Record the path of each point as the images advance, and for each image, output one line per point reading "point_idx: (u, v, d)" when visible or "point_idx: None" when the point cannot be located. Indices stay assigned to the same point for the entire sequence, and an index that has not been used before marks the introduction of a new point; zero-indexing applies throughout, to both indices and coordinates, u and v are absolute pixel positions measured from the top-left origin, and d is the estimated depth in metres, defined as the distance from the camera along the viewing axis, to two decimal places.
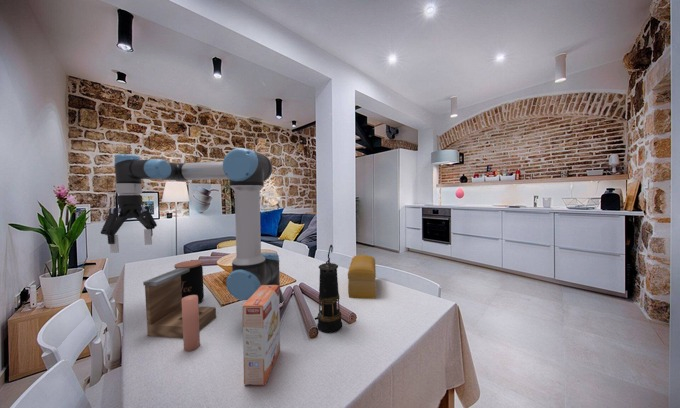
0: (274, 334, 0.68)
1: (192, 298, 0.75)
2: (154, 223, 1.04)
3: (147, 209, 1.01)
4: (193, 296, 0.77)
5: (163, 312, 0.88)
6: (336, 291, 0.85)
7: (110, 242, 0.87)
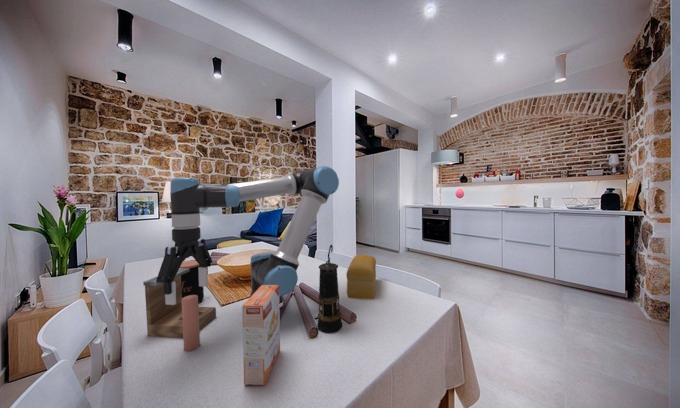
0: (274, 334, 0.68)
1: (192, 298, 0.75)
2: (210, 259, 0.84)
3: (203, 243, 0.81)
4: (193, 296, 0.77)
5: (163, 312, 0.88)
6: (336, 291, 0.85)
7: (167, 292, 0.67)
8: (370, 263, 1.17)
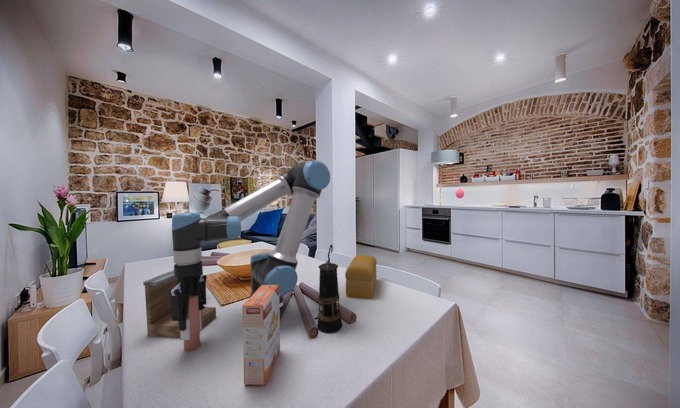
0: (274, 334, 0.68)
1: (192, 298, 0.75)
2: (204, 300, 0.81)
3: (204, 279, 0.81)
4: (193, 296, 0.77)
5: (163, 312, 0.88)
6: (336, 291, 0.85)
7: (182, 329, 0.72)
8: (369, 263, 1.16)
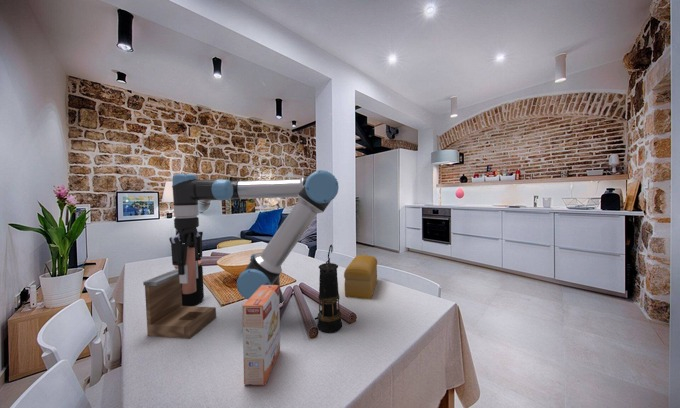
0: (274, 334, 0.68)
1: (190, 248, 0.87)
2: (201, 253, 0.93)
3: (200, 235, 0.93)
4: (190, 247, 0.88)
5: (163, 312, 0.88)
6: (336, 291, 0.85)
7: (181, 273, 0.84)
8: (369, 263, 1.16)
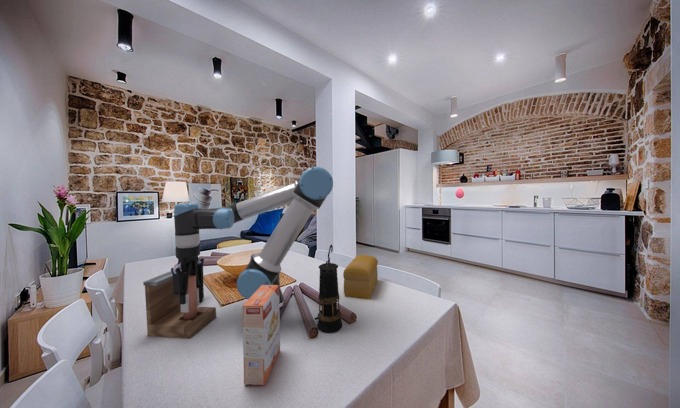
0: (274, 334, 0.68)
1: (191, 277, 0.87)
2: (202, 279, 0.93)
3: (202, 262, 0.93)
4: (192, 276, 0.89)
5: (163, 312, 0.88)
6: (336, 291, 0.85)
7: (182, 302, 0.84)
8: (368, 263, 1.16)
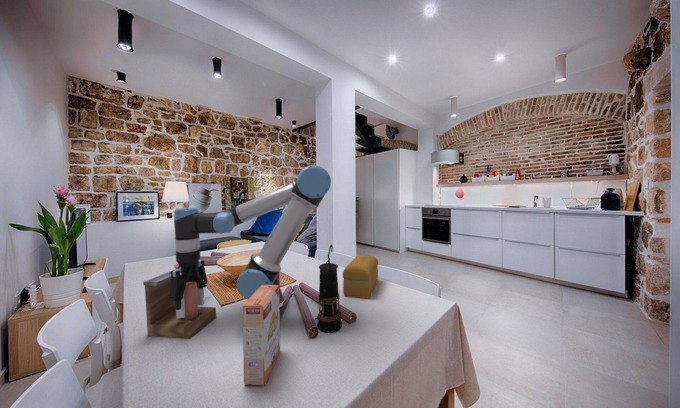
0: (274, 334, 0.68)
1: (191, 284, 0.87)
2: (205, 280, 0.95)
3: (202, 264, 0.93)
4: (192, 282, 0.89)
5: (163, 312, 0.88)
6: (336, 291, 0.85)
7: (177, 308, 0.82)
8: (368, 263, 1.16)
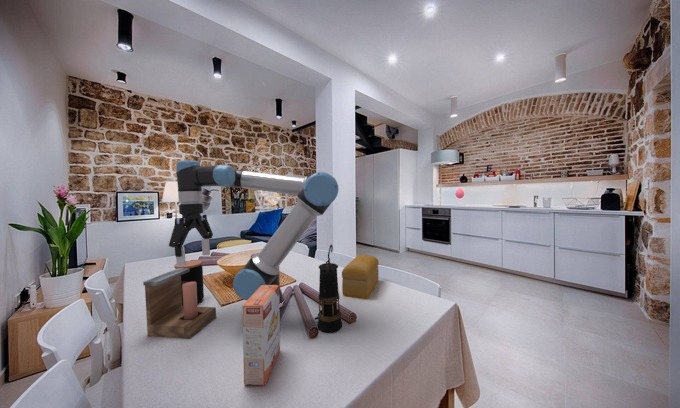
0: (274, 334, 0.68)
1: (191, 284, 0.87)
2: (211, 232, 0.98)
3: (205, 218, 0.95)
4: (192, 282, 0.89)
5: (163, 312, 0.88)
6: (336, 291, 0.85)
7: (178, 255, 0.81)
8: (367, 263, 1.16)
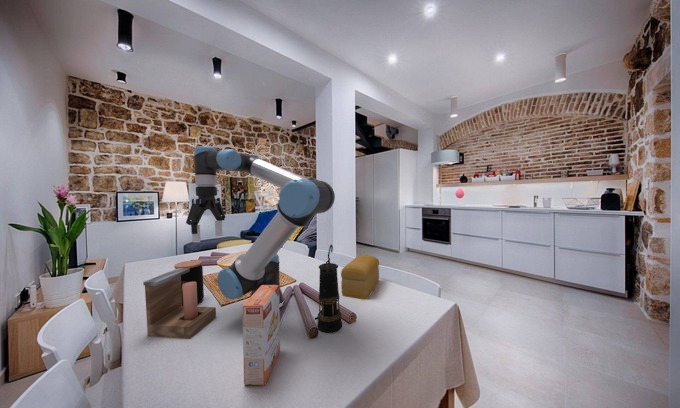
0: (274, 334, 0.68)
1: (191, 284, 0.87)
2: (223, 215, 1.06)
3: (219, 201, 1.02)
4: (192, 282, 0.89)
5: (163, 312, 0.88)
6: (336, 291, 0.85)
7: (194, 232, 0.89)
8: (367, 263, 1.16)
